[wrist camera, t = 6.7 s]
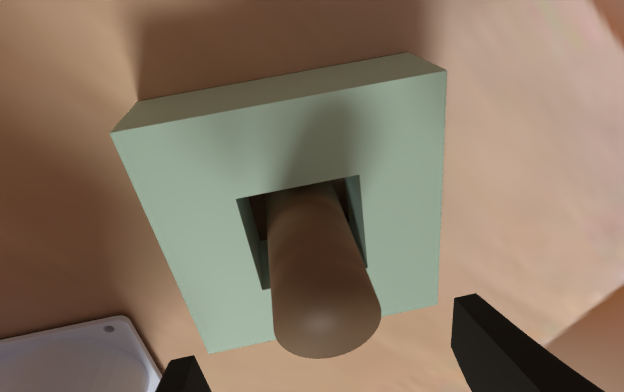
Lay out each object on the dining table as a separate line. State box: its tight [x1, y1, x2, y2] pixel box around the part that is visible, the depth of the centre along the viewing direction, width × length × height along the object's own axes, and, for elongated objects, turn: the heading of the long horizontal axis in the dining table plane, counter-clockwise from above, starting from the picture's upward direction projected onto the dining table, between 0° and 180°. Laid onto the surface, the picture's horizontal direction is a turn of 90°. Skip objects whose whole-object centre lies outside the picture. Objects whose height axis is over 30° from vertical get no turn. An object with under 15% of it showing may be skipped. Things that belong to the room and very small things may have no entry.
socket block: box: [110, 52, 447, 354], centre depth 16 cm, size 11×11×4 cm
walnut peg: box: [264, 180, 381, 359], centre depth 14 cm, size 3×3×8 cm
